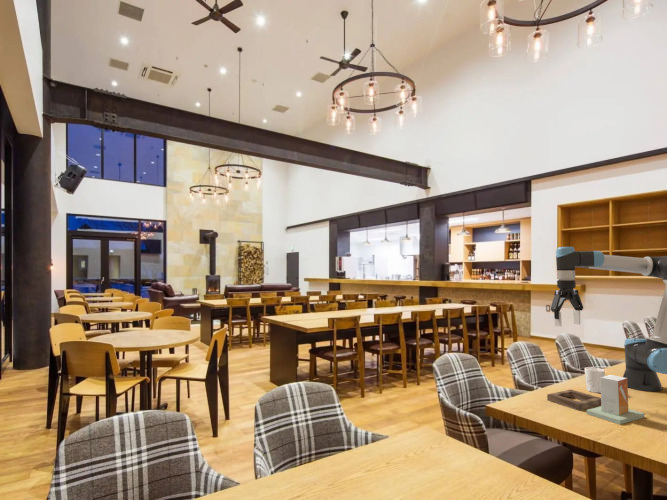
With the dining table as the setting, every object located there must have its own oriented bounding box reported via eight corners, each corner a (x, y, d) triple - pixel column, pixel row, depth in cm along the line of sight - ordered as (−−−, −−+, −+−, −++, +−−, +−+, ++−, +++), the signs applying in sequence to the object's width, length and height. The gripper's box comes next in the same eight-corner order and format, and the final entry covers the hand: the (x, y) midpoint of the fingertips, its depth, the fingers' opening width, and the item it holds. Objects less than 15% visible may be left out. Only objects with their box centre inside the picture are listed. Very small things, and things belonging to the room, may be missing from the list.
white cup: (605, 390, 184) (604, 368, 185) (605, 394, 178) (605, 372, 178) (585, 387, 189) (584, 366, 189) (585, 391, 182) (584, 369, 182)
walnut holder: (571, 395, 177) (570, 389, 177) (603, 404, 165) (603, 398, 165) (547, 400, 170) (547, 394, 170) (579, 410, 158) (579, 404, 158)
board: (611, 407, 161) (610, 403, 161) (644, 417, 150) (644, 413, 150) (586, 413, 154) (586, 409, 154) (619, 424, 143) (619, 420, 143)
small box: (619, 416, 148) (618, 381, 148) (601, 411, 153) (599, 377, 154) (629, 411, 152) (627, 377, 152) (610, 407, 157) (609, 374, 158)
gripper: (575, 279, 193) (576, 322, 192) (540, 280, 182) (542, 325, 181) (590, 279, 186) (592, 324, 185) (556, 280, 176) (557, 328, 174)
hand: (567, 325), depth 183 cm, fingers open, 13 cm apart
